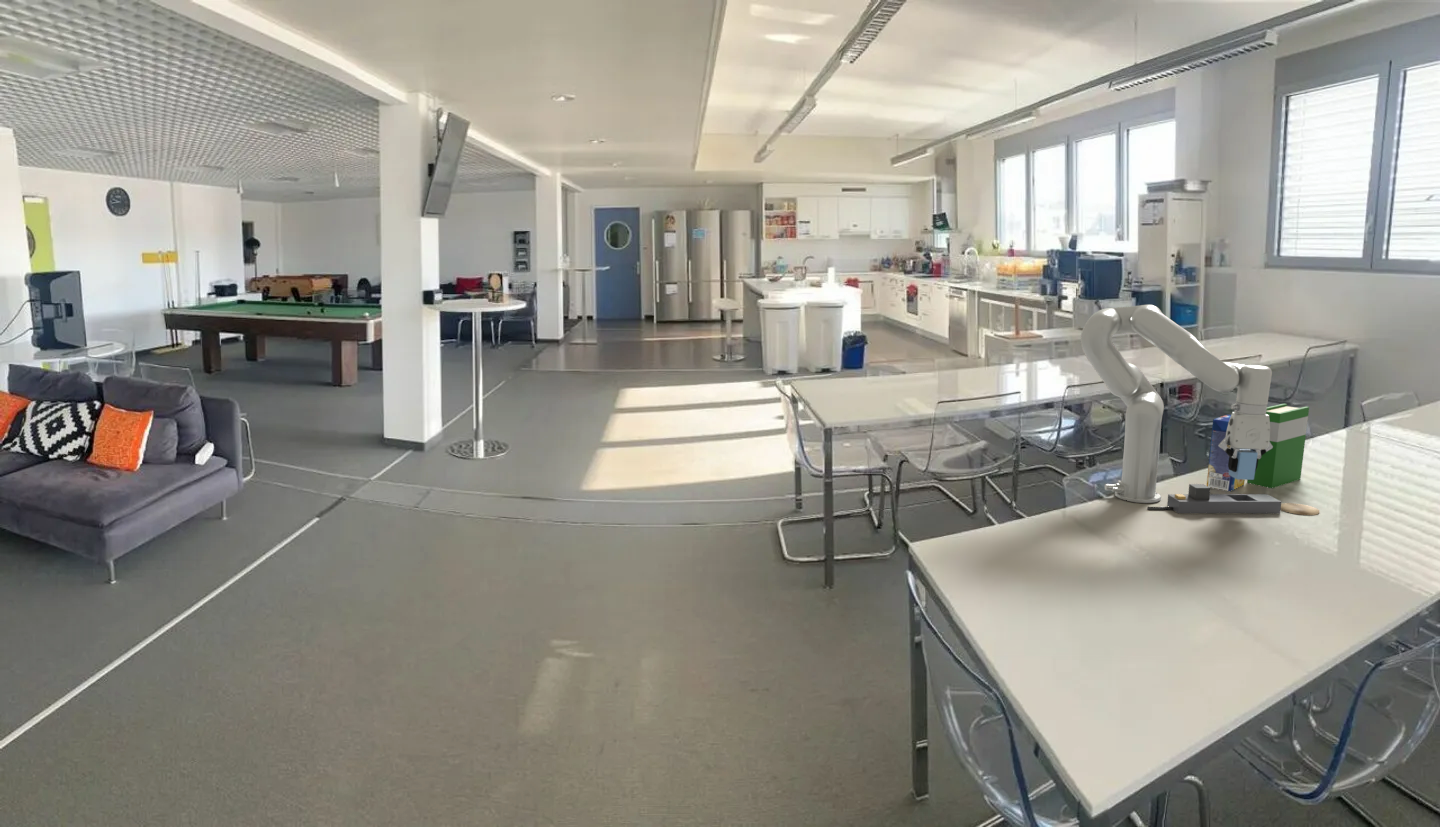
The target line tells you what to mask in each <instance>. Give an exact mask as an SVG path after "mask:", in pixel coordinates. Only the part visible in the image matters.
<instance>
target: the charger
mask: <svg viewBox="0 0 1440 827" xmlns="http://www.w3.org/2000/svg"><path fill="white" fill-rule="evenodd" d="M1257 455H1258V453H1257V452H1255V451H1253V450H1251V449H1240V450H1239V453H1238V455H1237V458H1238V465H1237V471H1236V472H1233V471H1231V470H1229V475H1230V476H1232V477H1234V478H1235V479H1244V480H1245V481H1247V480H1254V475H1255V468H1256V461H1257Z"/></svg>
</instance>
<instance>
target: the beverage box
mask: <svg viewBox="0 0 1440 827" xmlns="http://www.w3.org/2000/svg"><path fill="white" fill-rule="evenodd" d="M1231 415H1232V414H1225V415H1222V416H1220V417H1216V418H1214V419H1212V428H1211V438H1210V448H1209V457H1208V467H1207V478H1206V486H1208V487H1212V488H1211V489H1214V488H1218V489H1217V490H1219V489H1223V490H1222V491H1224V490H1227V491H1226V492H1229V491H1230V492H1232V491H1234V489H1235V490H1237V489H1239V488H1241V487H1243V486H1244V485H1245V481H1246V480H1244V479H1235V478H1234V477H1232V476H1230V475H1229V467H1228V462H1229V456H1228V455H1227V453H1226V452H1225V451H1224V450H1223V449H1221V448H1220V447H1219V446H1218V445H1219V444H1220V443H1221V442H1222V440H1223V439H1224V438H1225V437H1226V431H1227V427H1228V423H1229V420H1230V417H1231ZM1227 447H1228V448H1229V449H1230V445H1227ZM1242 485H1243V486H1242ZM1240 486H1241V487H1240ZM1238 487H1239V488H1238ZM1236 488H1237V489H1236ZM1231 490H1232V491H1231Z"/></svg>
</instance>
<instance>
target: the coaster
mask: <svg viewBox="0 0 1440 827" xmlns="http://www.w3.org/2000/svg"><path fill="white" fill-rule="evenodd" d="M1280 511H1282V512H1284V511H1285V512H1284V513H1288V512H1289V514H1292V513H1293V514H1292V515H1299V516H1316V515H1319V514H1320V512H1321V511H1320V509H1318V508H1316V507H1314V506H1311V505H1307V504H1302V503H1293V502H1281V510H1280Z"/></svg>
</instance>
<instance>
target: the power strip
mask: <svg viewBox="0 0 1440 827" xmlns="http://www.w3.org/2000/svg"><path fill="white" fill-rule="evenodd" d="M1211 489H1212V488H1210V487H1208V486H1207V484H1204V483H1189V485H1188V494H1186V493H1184V494H1182V493H1174V494H1173V493H1171V494H1170V493H1169V494H1168V493H1167V504H1166V506H1147V507H1146V509H1147V510H1148V511H1163V510H1162V509H1165V510H1164V511H1174V512H1175V511H1176V512H1175V513H1177V514H1178V513H1253V514H1254V515H1255V514H1256V513H1263V515H1265V514H1266V515H1267V514H1268V513H1272V514H1273V513H1274V515H1275V514H1276V513H1278V515H1279V514H1281V511H1282V510H1281V504H1282V501H1281V500H1280V499H1278V498H1276V497H1273V496H1272V495H1270V494H1267V493H1264V494H1263V493H1262V494H1260V493H1259V494H1257V493H1256V494H1255V493H1253V494H1251V493H1250V494H1249V493H1246V494H1245V493H1244V494H1242V493H1234V494H1233V493H1232V494H1231V493H1230V494H1228V493H1224V494H1222V493H1221V494H1220V493H1217V494H1216V493H1214V494H1213V493H1212V494H1211ZM1168 506H1169V507H1168ZM1159 509H1160V510H1159ZM1166 509H1168V510H1166ZM1253 514H1252V515H1253ZM1256 515H1257V514H1256Z"/></svg>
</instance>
